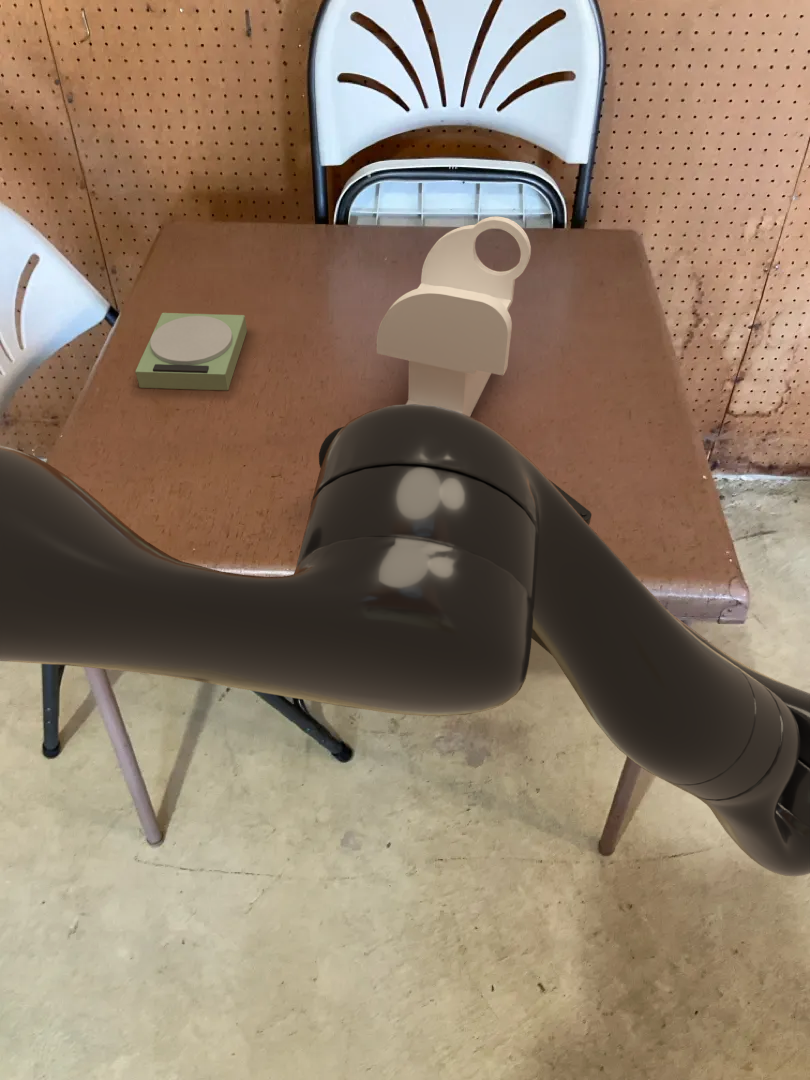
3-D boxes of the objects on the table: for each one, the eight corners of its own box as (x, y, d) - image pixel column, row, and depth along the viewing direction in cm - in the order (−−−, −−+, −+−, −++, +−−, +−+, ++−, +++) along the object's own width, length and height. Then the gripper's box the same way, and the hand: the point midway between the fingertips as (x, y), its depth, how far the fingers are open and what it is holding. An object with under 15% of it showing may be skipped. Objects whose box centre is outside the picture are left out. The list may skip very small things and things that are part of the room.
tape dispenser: (422, 354, 99) (425, 204, 86) (529, 376, 96) (549, 224, 83) (378, 425, 90) (374, 270, 76) (495, 453, 87) (511, 296, 73)
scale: (228, 390, 94) (224, 369, 92) (139, 387, 94) (133, 366, 92) (247, 331, 102) (244, 310, 100) (165, 328, 102) (160, 308, 100)
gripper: (666, 531, 59) (502, 420, 67) (523, 637, 52) (362, 500, 61) (644, 599, 64) (495, 489, 73) (512, 703, 58) (366, 568, 66)
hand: (435, 494), depth 67 cm, fingers open, 8 cm apart
